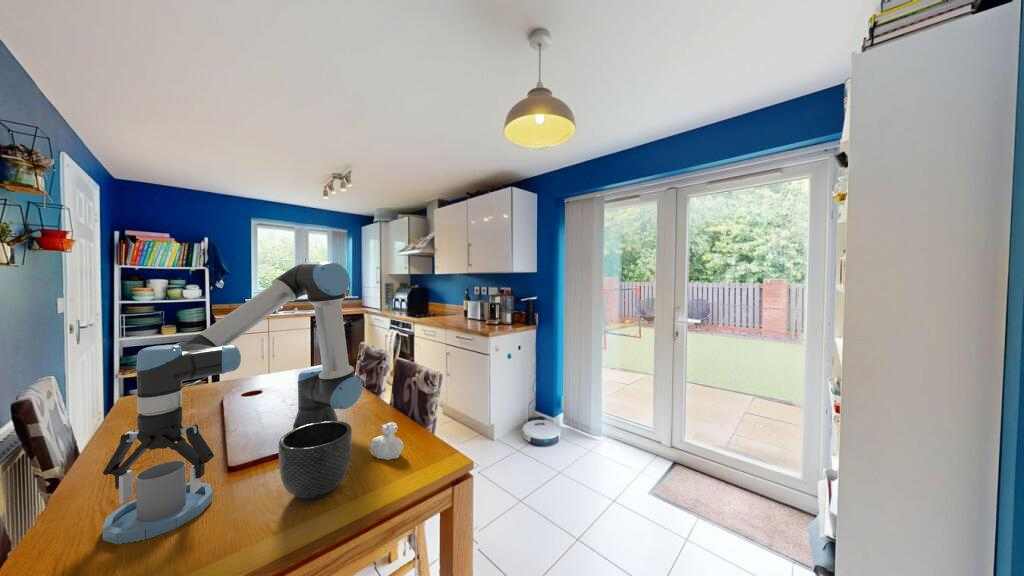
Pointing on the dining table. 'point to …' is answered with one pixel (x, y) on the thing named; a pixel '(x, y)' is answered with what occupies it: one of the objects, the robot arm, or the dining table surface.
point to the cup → (160, 491)
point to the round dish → (129, 529)
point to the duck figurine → (387, 443)
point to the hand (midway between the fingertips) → (161, 495)
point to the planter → (315, 458)
